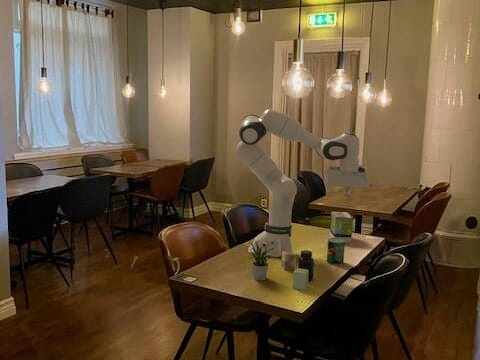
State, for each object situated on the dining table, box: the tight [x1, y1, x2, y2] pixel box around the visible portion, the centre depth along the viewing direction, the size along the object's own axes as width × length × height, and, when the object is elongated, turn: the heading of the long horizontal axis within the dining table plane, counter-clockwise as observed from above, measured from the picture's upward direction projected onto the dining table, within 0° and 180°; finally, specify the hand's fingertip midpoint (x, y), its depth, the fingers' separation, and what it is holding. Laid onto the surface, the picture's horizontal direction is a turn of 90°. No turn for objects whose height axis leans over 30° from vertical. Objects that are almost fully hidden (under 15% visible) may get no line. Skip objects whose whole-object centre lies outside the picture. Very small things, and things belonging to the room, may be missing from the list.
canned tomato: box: [326, 237, 346, 266], centre depth 227 cm, size 8×8×11 cm
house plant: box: [247, 241, 275, 281], centre depth 203 cm, size 14×14×16 cm
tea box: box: [329, 211, 354, 244], centre depth 268 cm, size 15×10×15 cm, turn 178°
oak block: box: [281, 250, 297, 271], centre depth 218 cm, size 5×5×7 cm
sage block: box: [292, 267, 309, 291], centre depth 194 cm, size 5×5×7 cm
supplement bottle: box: [297, 249, 315, 282], centre depth 203 cm, size 7×7×12 cm
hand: (346, 195), depth 231 cm, fingers closed
